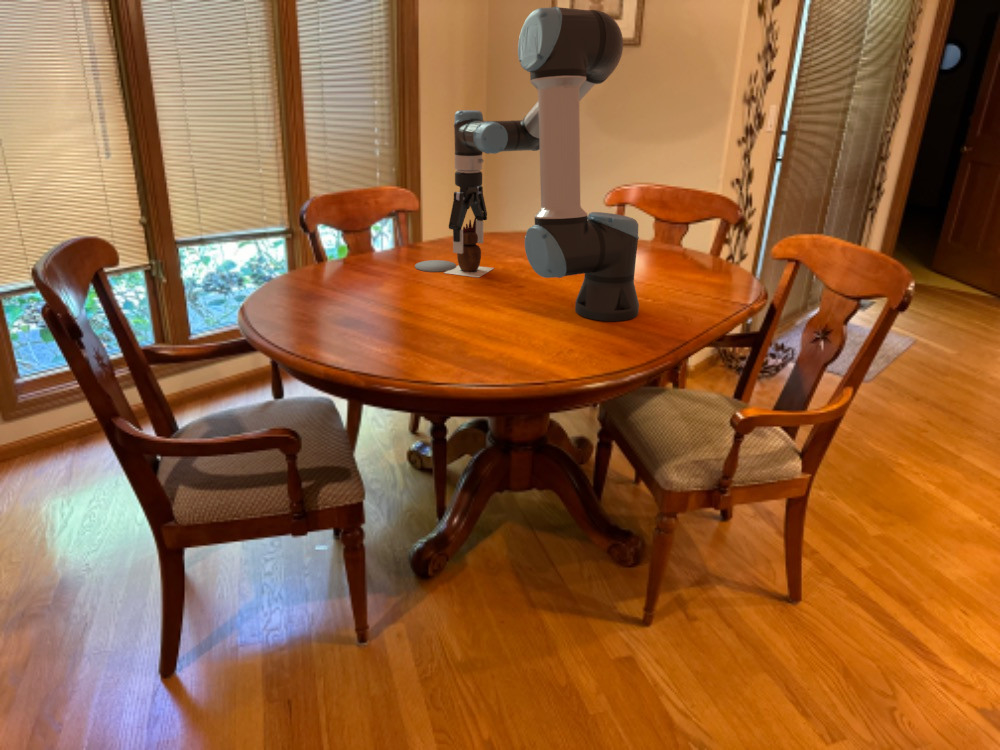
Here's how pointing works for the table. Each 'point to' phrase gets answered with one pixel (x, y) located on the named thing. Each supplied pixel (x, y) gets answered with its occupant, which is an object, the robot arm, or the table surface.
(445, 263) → the coaster
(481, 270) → the white card
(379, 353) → the table surface
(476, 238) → the wooden figurine
